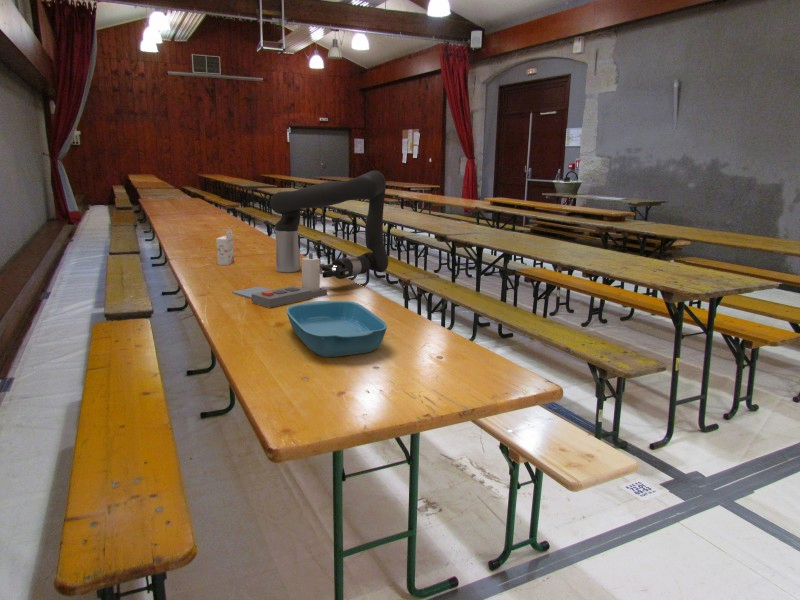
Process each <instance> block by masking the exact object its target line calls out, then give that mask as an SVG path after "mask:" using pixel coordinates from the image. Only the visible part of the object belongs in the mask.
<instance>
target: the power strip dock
mask: <svg viewBox="0 0 800 600" xmlns="http://www.w3.org/2000/svg"><path fill="white" fill-rule="evenodd" d="M326 294H327V295H328V288H325V287H324V288H323V287H320V290H317V291H312V292H311V290H308V289H304V288H302V287H300V286H296V285H291V286H286V287H282V288H281V287H279V288H275V289H271V290H270V291H264V292H259V293H254V294H252V299H251V303H252V302H253V303H252V304H254V303H256V304H255V305H257V304H259V306H261V305H262V306H261V307H264V306H265V308H267V307H269V308H268V309H272V308H271V307H273V308H276V306H277V307H280V305H282V306H285V305H284V304H286V305H290V304H294V303H293V302H295V303H298V302H297V301H299V302H303V301H302V300H304V301H308V300H311V299H313V297H314V298H319V297H322V296H326ZM318 296H319V297H318ZM307 299H308V300H307ZM289 303H290V304H289Z"/></svg>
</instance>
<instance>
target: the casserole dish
mask: <svg viewBox="0 0 800 600" xmlns="http://www.w3.org/2000/svg"><path fill="white" fill-rule="evenodd" d="M285 312H286V315H287V317H288V320H289V323H290V325H291V328H292V330H293V331H294V333H295V335H297V337H298V338H299V339H300V340H301V341H302V343H303V344H304V345H305V346H306V347H307V348H308V349H309V350H310V351H312V352H313V353H315V354H316V355H318V356H319V357H325V358H332V357H333V358H334V357H344V356H350V355H361V354H367V353H371V352H374V351H375V350H377V349H378V348H379V347H380V346H381V345H382V342H383V341H384V337H385V334H386V331H387V329H388V324H387V323H386V322H385V321H384V320H383V319H382V318H381V317H379V316H377V314H375V313H373V312H372V311H370V310H369V309H368V308H366V307H365V306H363V305H362V304H359V303H358V302H355V301H349V300H316V301H315V300H314V301H305V302H303V303H297V304H292V305H289V306H288V307H287V308H286V309H285Z"/></svg>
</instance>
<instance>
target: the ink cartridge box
mask: <svg viewBox="0 0 800 600" xmlns="http://www.w3.org/2000/svg"><path fill="white" fill-rule="evenodd" d="M233 234H234V233H233V230H232V229H230V230H227V231H226V232H225V235H222V236H219V237H217V238H216V239H215V241H216V255H217V257H216V258H217V265H218V266H230V265H231V264H232V262H233V263H234V262H235V256H234V253H235V251H234V235H233ZM229 264H230V265H229Z"/></svg>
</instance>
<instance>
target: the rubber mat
mask: <svg viewBox="0 0 800 600" xmlns="http://www.w3.org/2000/svg"><path fill="white" fill-rule="evenodd" d="M270 290H272V289H271V288H267V287H263V286H256V287H255V286H254V287H249V288H244V289H239V290H238V289H237V290H234V291H232V292H231V293H232V294H233V293H234V295H236V294H237V296H240V295H241V296H240V297H243V296H244V297H243V298H247V297H248V298H247V299H250V298H252V294H254V293H259V292H264V291H270Z"/></svg>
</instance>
